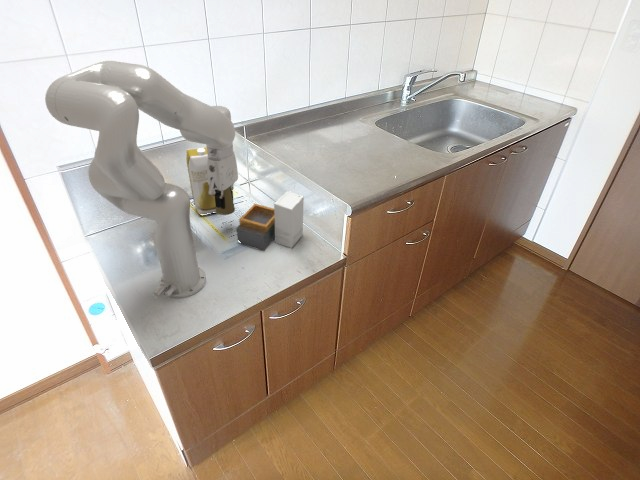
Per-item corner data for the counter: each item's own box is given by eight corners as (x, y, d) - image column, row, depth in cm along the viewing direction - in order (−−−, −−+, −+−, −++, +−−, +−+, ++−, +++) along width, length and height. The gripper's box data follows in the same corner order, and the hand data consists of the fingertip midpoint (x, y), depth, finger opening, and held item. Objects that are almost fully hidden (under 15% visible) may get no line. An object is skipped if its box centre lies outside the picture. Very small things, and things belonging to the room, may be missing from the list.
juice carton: (198, 218, 142) (187, 155, 127) (193, 207, 147) (182, 144, 132) (225, 213, 145) (217, 150, 130) (219, 201, 151) (211, 140, 136)
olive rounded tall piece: (216, 215, 129) (213, 184, 123) (215, 206, 134) (211, 175, 128) (235, 214, 131) (233, 183, 125) (233, 204, 136) (231, 174, 129)
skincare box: (287, 229, 139) (286, 189, 129) (304, 235, 137) (305, 195, 127) (274, 243, 133) (272, 202, 123) (292, 249, 131) (292, 208, 121)
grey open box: (264, 250, 130) (263, 230, 125) (238, 242, 132) (235, 222, 127) (283, 226, 140) (283, 207, 135) (258, 220, 143) (257, 200, 138)
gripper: (215, 163, 113) (220, 219, 124) (245, 143, 126) (248, 195, 137) (192, 158, 115) (199, 213, 126) (224, 138, 128) (228, 190, 139)
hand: (224, 203), depth 131 cm, fingers closed on olive rounded tall piece, 4 cm apart
